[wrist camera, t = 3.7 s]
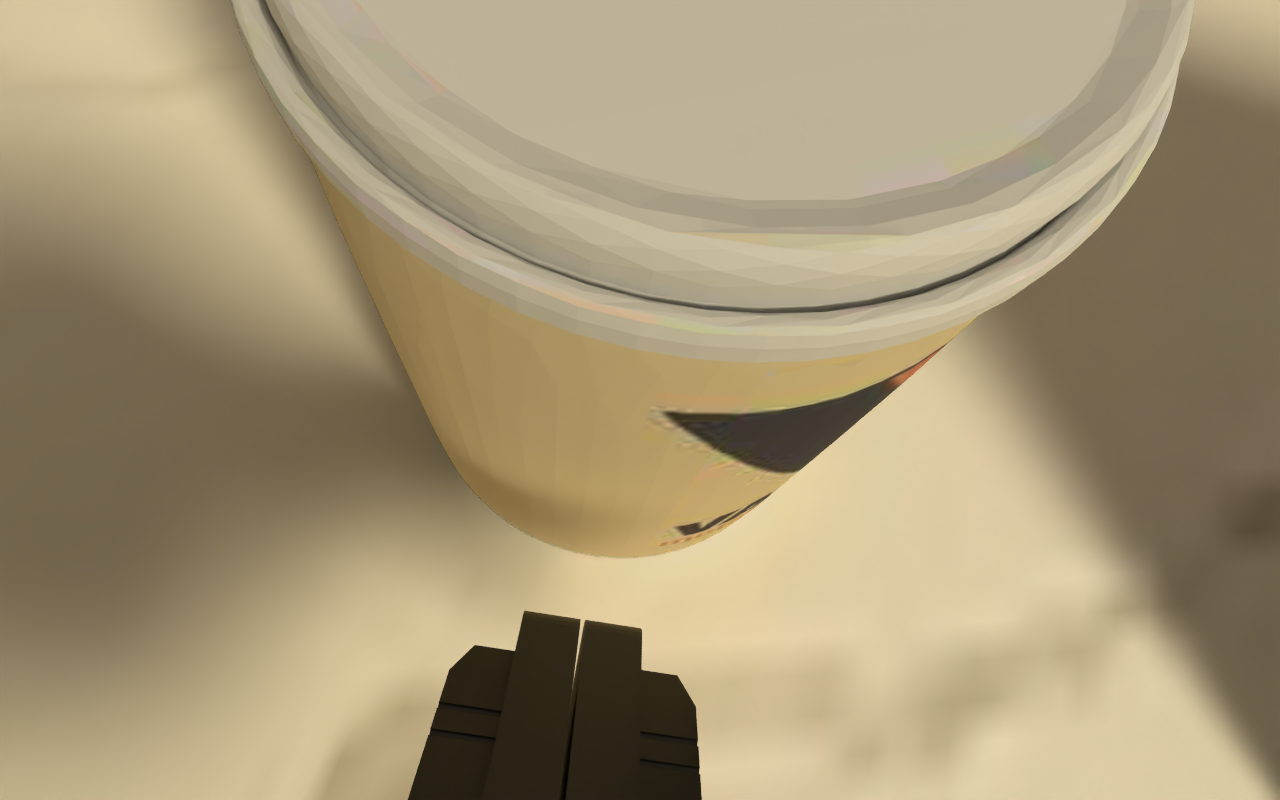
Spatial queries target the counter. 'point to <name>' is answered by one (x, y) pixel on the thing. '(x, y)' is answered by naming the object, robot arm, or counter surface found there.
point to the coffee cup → (699, 216)
